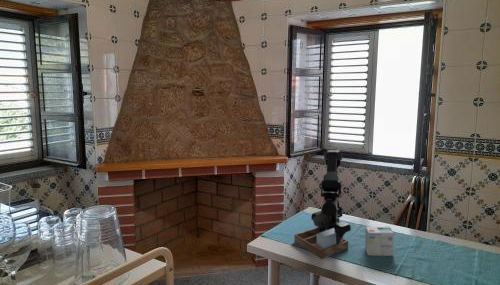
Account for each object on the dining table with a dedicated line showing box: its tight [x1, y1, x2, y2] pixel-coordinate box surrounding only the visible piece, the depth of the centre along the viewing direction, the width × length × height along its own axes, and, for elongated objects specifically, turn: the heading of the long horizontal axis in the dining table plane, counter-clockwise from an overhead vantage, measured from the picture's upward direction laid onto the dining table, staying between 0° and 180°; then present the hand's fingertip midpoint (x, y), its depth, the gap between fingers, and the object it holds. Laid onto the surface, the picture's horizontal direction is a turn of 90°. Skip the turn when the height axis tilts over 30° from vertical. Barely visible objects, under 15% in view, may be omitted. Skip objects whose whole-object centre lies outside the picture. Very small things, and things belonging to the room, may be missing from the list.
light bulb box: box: [364, 225, 395, 257], centre depth 154 cm, size 11×7×11 cm, turn 84°
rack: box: [293, 226, 349, 259], centre depth 162 cm, size 16×19×4 cm
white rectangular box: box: [317, 228, 344, 250], centre depth 157 cm, size 12×4×8 cm, turn 121°
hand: (330, 239), depth 157 cm, fingers open, 9 cm apart
